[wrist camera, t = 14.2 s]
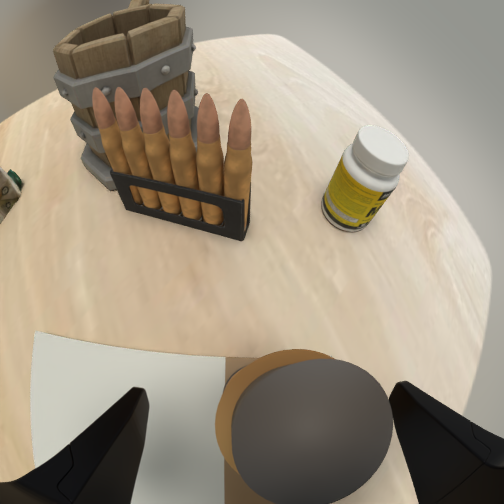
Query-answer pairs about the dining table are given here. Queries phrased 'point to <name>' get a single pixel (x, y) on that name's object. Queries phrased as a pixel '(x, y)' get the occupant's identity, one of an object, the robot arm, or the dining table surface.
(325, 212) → the supplement bottle
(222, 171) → the ammunition clip
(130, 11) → the tankard
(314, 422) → the tan cylinder
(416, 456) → the robot arm
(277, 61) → the dining table surface
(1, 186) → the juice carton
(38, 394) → the floor panel
